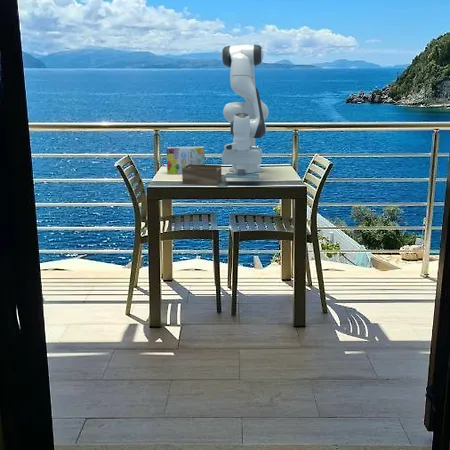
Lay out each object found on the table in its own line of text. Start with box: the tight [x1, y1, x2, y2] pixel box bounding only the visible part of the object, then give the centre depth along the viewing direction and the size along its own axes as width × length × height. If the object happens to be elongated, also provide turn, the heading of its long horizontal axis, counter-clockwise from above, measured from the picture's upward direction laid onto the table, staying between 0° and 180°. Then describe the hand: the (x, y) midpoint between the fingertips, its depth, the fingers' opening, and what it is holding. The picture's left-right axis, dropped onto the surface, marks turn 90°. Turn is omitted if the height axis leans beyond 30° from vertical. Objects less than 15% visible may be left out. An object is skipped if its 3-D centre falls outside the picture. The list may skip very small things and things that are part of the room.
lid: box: [223, 169, 260, 180], centre depth 298 cm, size 10×17×4 cm, turn 78°
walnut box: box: [181, 164, 222, 186], centre depth 303 cm, size 12×18×8 cm, turn 79°
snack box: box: [166, 145, 206, 175], centre depth 328 cm, size 21×6×15 cm, turn 92°
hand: (241, 173), depth 298 cm, fingers closed on lid, 3 cm apart
